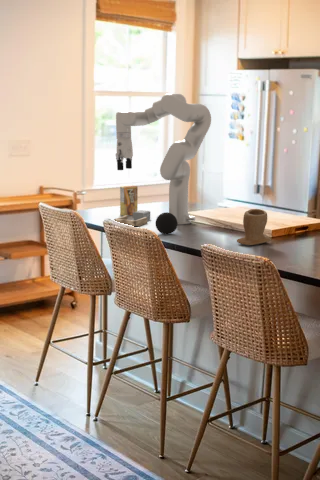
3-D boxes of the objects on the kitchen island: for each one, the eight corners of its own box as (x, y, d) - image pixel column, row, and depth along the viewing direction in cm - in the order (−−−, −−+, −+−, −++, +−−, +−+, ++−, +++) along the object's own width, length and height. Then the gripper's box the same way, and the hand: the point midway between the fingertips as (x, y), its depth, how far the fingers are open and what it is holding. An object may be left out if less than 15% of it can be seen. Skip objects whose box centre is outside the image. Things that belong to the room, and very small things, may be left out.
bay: (147, 223, 358) (147, 217, 358) (135, 227, 347) (135, 220, 347) (125, 221, 363) (125, 215, 363) (114, 225, 352) (113, 219, 352)
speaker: (154, 232, 334) (154, 211, 332) (176, 232, 334) (176, 210, 333) (156, 236, 324) (156, 214, 322) (178, 236, 325) (178, 214, 323)
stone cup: (252, 248, 297) (253, 212, 295) (232, 244, 307) (233, 209, 304) (278, 244, 306) (279, 209, 303) (258, 240, 316) (259, 206, 313)
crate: (150, 220, 369) (150, 210, 368) (143, 222, 361) (143, 213, 360) (139, 219, 371) (139, 210, 370) (133, 221, 364) (132, 212, 363)
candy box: (133, 213, 388) (132, 185, 385) (138, 214, 385) (137, 186, 382) (119, 215, 382) (119, 186, 379) (124, 216, 379) (124, 187, 376)
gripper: (122, 136, 359) (123, 170, 362) (137, 135, 374) (138, 168, 378) (109, 136, 362) (110, 170, 365) (124, 135, 377) (125, 167, 381)
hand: (124, 169), depth 371 cm, fingers open, 9 cm apart
